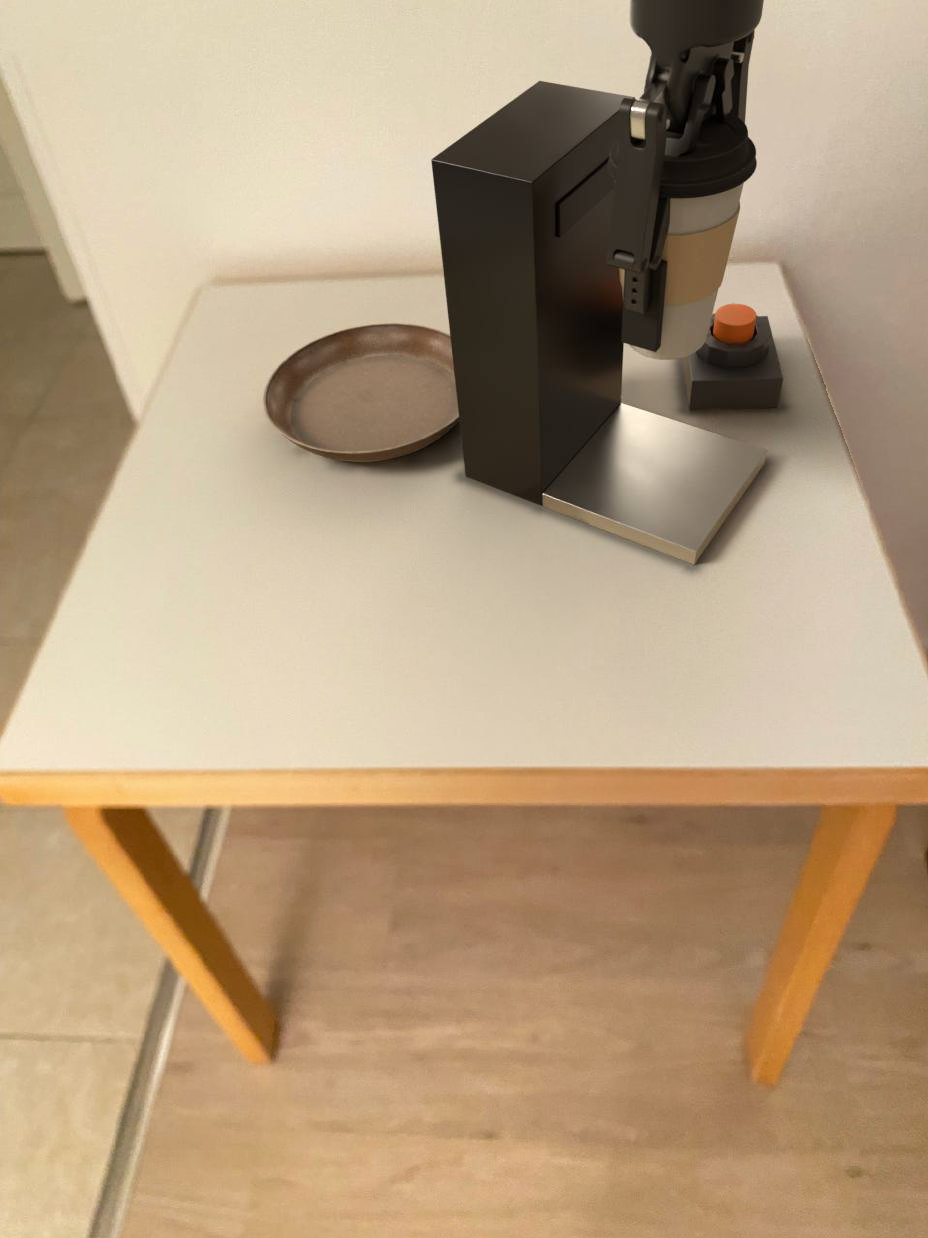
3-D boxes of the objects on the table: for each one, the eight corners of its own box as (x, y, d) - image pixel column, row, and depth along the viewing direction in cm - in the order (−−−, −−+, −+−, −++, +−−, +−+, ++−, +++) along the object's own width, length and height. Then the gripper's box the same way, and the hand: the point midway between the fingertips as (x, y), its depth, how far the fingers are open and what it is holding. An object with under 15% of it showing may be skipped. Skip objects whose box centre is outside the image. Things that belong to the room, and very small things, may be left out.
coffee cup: (640, 291, 77) (652, 90, 65) (752, 322, 73) (786, 114, 61) (578, 352, 72) (580, 147, 61) (694, 390, 68) (719, 178, 57)
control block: (777, 407, 89) (787, 360, 85) (688, 410, 90) (694, 364, 86) (762, 344, 95) (770, 298, 91) (679, 347, 96) (684, 302, 92)
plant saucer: (288, 352, 101) (281, 324, 99) (486, 342, 99) (483, 313, 97) (253, 485, 88) (244, 457, 85) (481, 476, 86) (478, 447, 84)
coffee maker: (764, 463, 84) (830, 129, 63) (694, 565, 77) (740, 228, 56) (546, 391, 93) (539, 79, 72) (465, 476, 86) (430, 158, 65)
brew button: (755, 344, 88) (759, 324, 86) (715, 346, 88) (717, 326, 86) (750, 322, 90) (753, 302, 88) (711, 323, 90) (713, 303, 89)
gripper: (717, -110, 61) (685, 236, 78) (544, 5, 50) (551, 375, 67) (836, -101, 57) (774, 257, 75) (678, 23, 47) (649, 406, 64)
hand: (668, 312), depth 71 cm, fingers closed on coffee cup, 8 cm apart
